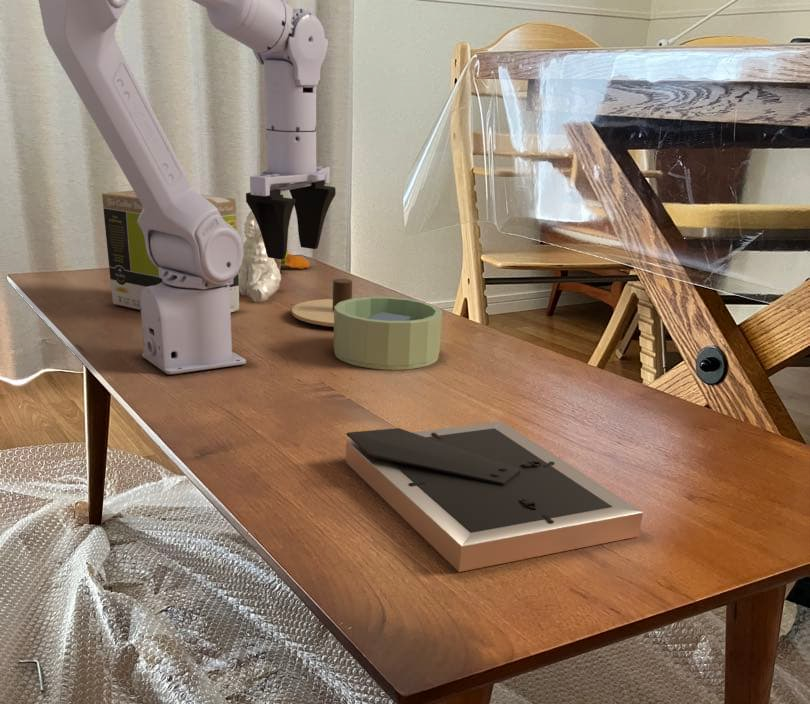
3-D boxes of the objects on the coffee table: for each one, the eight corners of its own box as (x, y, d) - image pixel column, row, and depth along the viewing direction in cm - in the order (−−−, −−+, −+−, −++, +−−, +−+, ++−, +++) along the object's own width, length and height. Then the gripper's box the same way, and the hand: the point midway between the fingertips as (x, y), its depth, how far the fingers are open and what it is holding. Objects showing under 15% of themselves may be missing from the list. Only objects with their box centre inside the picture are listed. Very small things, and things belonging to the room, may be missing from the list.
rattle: (311, 275, 149) (311, 201, 143) (260, 274, 147) (258, 199, 142) (309, 266, 155) (309, 195, 150) (260, 265, 154) (258, 193, 149)
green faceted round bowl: (371, 375, 103) (372, 327, 100) (315, 347, 112) (315, 302, 109) (459, 361, 109) (462, 315, 107) (399, 335, 118) (401, 293, 116)
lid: (324, 336, 116) (324, 296, 114) (274, 312, 126) (273, 274, 124) (411, 325, 124) (413, 287, 121) (357, 303, 133) (358, 267, 131)
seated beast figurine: (211, 292, 135) (207, 206, 129) (251, 283, 141) (249, 201, 136) (258, 303, 130) (256, 215, 125) (298, 294, 136) (298, 209, 131)
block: (394, 357, 108) (396, 323, 106) (364, 351, 109) (365, 318, 108) (408, 349, 111) (410, 316, 109) (379, 344, 113) (380, 311, 111)
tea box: (242, 311, 126) (238, 197, 119) (190, 324, 118) (183, 204, 111) (163, 293, 133) (155, 185, 126) (109, 305, 125) (98, 190, 118)
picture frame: (345, 462, 80) (458, 572, 64) (346, 432, 79) (462, 536, 62) (499, 441, 86) (638, 536, 70) (502, 413, 85) (644, 503, 69)
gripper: (287, 136, 97) (290, 267, 103) (352, 129, 108) (350, 247, 115) (231, 131, 99) (237, 259, 105) (300, 125, 111) (302, 240, 117)
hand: (293, 252), depth 110 cm, fingers open, 7 cm apart
